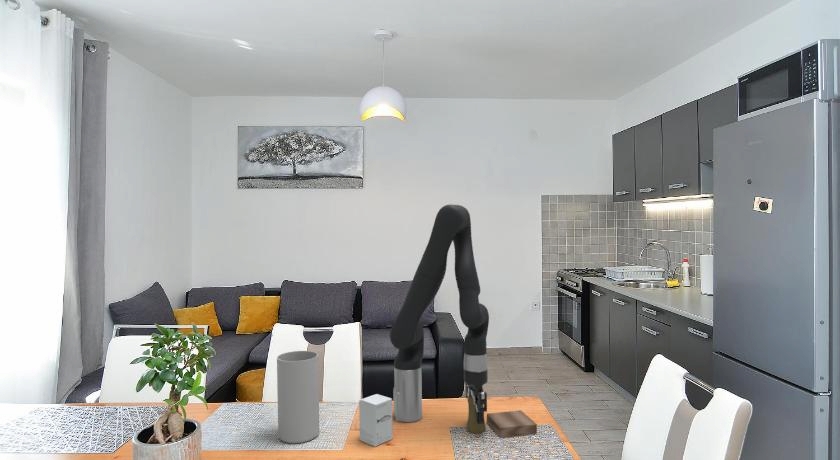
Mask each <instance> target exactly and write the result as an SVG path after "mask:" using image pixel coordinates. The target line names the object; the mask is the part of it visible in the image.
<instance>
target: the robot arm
mask: <svg viewBox="0 0 840 460" xmlns="http://www.w3.org/2000/svg"><path fill="white" fill-rule="evenodd" d="M471 221H472V220H471V214H470V212H469V210H468V209H467V208H466V207H465V206H463V205H460V204H446V205H443V206H442V207H441V208H440V209H439V210H438V211H437V213H436V216H435V219H434V222H433V226H432V229H431V233H430V237H429V240H428V243H427V245H426V247H425V250H424V252H423V254H422V257H421V260H420V261H419V264H418V266H417V268H416V271H415V273H414V275H413V278H412V282H411V284H410V286H409V288H408V291H407V294H406V296H405V299H404V302H403V305H402V307H401V309H400V311H399V313H398V315H397V316H396V318H395V320H394V322H393V324H392V325H391V329H390V331H389V339H390V342H391V344H392V347H394V348H395V349H397V350H398V352H397V353H396V356H395V357H394V359H393V366H394V367H393V369H394V370H393V371H394V373H393V374H394V376H393V378H394V387H393V389H392V390H393V391H392V393H393V398H392V402H393V417H394V419H395V421H396V422H402V423H413V422H414V423H415V422H418V421H419V420H421V419H423V396H422V395H423V394H422V393H423V392H422V389H423V387H422V385H423V384H422V383H423V382H422V379H423V377H422V361H423V359H424V350H425V349H424V347H425V346H424V345H425V332H424V327H423V325H422V323H421V321H420V320H421V318H422V316H423V314H424V312H425V311H426V310H427V308H428V307H429V306H430V304H431V303H432V301H433V300H434V299H435V298H436V296H437V294H438V292H439V290H440V288H441V285H442V283H443V281H444V279H445V276H446V271H447V265H448V264H447V263H448V254H449V250H450V248H451V246H452V243H453V247H454V275H455V280H456V281H455V282H456V285H457V286H456V287H457V291H458V294H459V299H458V304H459V316H460V320H461V322H462V323H463V325H464V326H465V327H466V328H467V333H466V335H465V336H464V341H463V342H464V343H463V344H464V346H463V347H464V349H463V352H464V353H463V382H464V384H465V398H466V400H467V402H468V397H469V395H472V398H473V403H474V405H475V406H476V417H477V423H478V424H483V423H484V421H485V412H488V394H487V392H486V391H485V390H484V388H483V386H484V385H485V384H486V385H487V383H488V378H489V377H488V356H487V335H488V331H489V330H488V329H489V323H490V315H489V310H488V309H487V308H488V307H487V306H485V305H484V304H483V303H480V301H479V295H480V293H481V285H480V281H479V276H478V272H477V271H478V270H477V266H476V262H475V257H474V249H473V248H474V247H473V241H472V240H473V239H472V223H471ZM476 400H478V401H476ZM481 405H482V408H481ZM469 406H470V405H469V404H468V407H469Z"/></svg>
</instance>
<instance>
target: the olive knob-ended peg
mask: <svg viewBox="0 0 840 460" xmlns="http://www.w3.org/2000/svg"><path fill="white" fill-rule="evenodd" d="M467 400H468V401H467V403H468V404H467V405H468V417H467V424H466V430H467V432H469V433H472V434H481V433H482V434H483V433H484V432H486V430H487V429H486V422H485V420H484V423H483V424H478V423H477V417H476V406H475V405H474V403H473V398H472V395H469V397H468V398H467ZM476 401H478V400H476ZM469 405H470V406H469ZM481 408H482V405H481Z"/></svg>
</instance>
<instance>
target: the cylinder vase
mask: <svg viewBox="0 0 840 460" xmlns="http://www.w3.org/2000/svg"><path fill="white" fill-rule="evenodd" d="M276 374H277V376H276V378H277V379H276V380H277V381H276V382H277V384H276V385H277V388H276V389H277V436H278V439H279V440H280V441H281V442H283V443H288V444H301V443H306V442H310V441H312V440H314V439H316V438H317V436H319V434H320V389H319V388H320V387H319V384H320V382H319V354H318V352H315V351H313V350H312V351H311V350H294V351H288V352H283V353H281V354H279V355H277V356H276Z"/></svg>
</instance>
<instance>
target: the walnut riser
mask: <svg viewBox="0 0 840 460" xmlns="http://www.w3.org/2000/svg"><path fill="white" fill-rule="evenodd" d="M486 425H488V426H489V427H490V428H491V429H492V430H493V432H495V434H496V435H497V436H498V437H499V438H500V439H503V438H504V439H505V438H511V437H512V438H513V437H520V436H521V437H522V436H529V435H537V433H538V424H537V423H536V422H535V421H533V419H532V418H530V417H529V416H528V415H527V414H525V413H524V412H523V411H522V410H509V411H501V412H489V413H486Z"/></svg>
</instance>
